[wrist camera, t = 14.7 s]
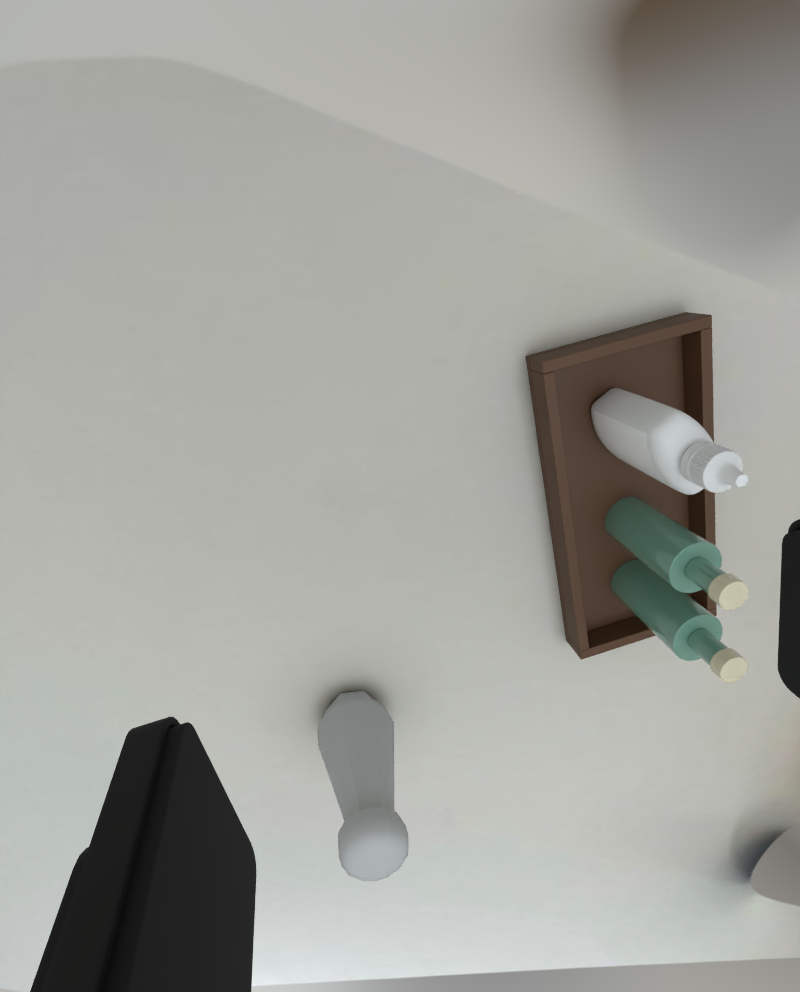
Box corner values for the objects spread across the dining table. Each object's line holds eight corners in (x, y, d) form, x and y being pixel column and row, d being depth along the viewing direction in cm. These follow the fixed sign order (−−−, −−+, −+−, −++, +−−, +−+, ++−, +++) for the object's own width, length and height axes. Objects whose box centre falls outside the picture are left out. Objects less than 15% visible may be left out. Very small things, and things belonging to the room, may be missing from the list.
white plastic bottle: (590, 468, 42) (700, 538, 31) (588, 391, 40) (705, 437, 29) (646, 455, 42) (775, 520, 31) (647, 378, 40) (785, 419, 29)
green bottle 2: (608, 566, 45) (706, 656, 35) (651, 553, 45) (761, 638, 35) (612, 605, 47) (708, 701, 36) (654, 591, 47) (760, 684, 36)
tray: (525, 356, 39) (541, 362, 36) (686, 312, 40) (712, 314, 37) (566, 640, 48) (581, 660, 45) (695, 599, 49) (716, 615, 46)
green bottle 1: (602, 503, 43) (705, 578, 33) (647, 490, 43) (763, 560, 33) (606, 545, 44) (706, 630, 34) (650, 532, 45) (762, 612, 34)
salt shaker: (399, 719, 48) (439, 870, 36) (336, 751, 47) (355, 912, 36) (368, 669, 45) (399, 812, 33) (302, 702, 45) (310, 858, 33)
